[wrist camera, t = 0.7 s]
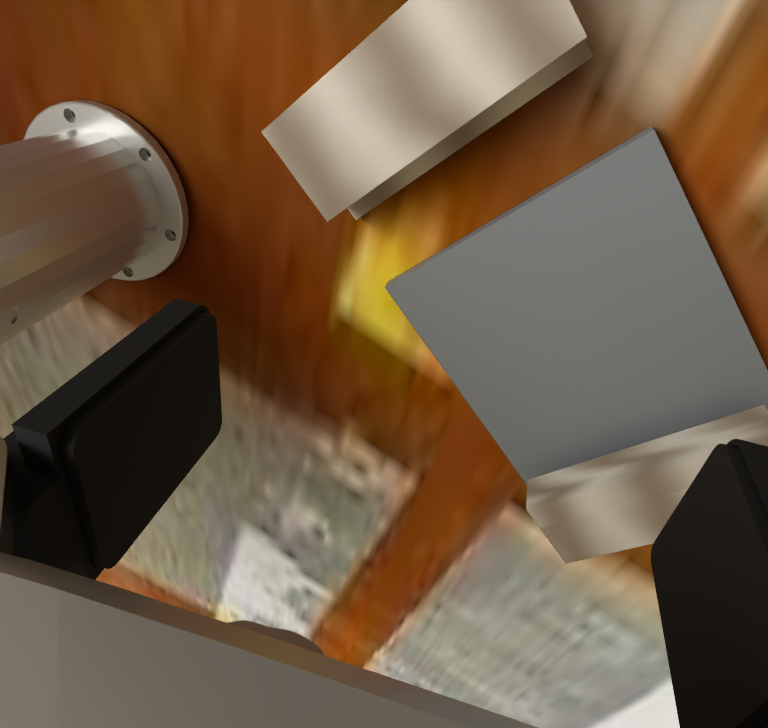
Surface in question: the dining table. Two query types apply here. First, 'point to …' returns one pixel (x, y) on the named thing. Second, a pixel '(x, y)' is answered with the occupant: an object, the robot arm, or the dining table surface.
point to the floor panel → (588, 316)
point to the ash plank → (421, 94)
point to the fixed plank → (630, 488)
